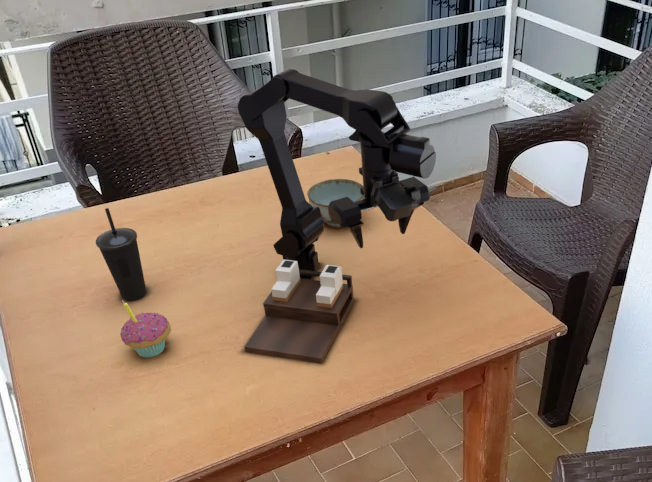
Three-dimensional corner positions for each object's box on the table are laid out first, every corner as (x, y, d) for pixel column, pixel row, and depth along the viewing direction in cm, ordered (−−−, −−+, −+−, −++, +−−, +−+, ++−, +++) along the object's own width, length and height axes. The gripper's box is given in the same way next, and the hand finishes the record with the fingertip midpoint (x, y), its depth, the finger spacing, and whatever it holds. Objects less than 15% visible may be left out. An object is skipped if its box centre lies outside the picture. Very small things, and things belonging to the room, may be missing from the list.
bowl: (298, 226, 163) (294, 196, 159) (333, 202, 172) (330, 173, 168) (345, 241, 157) (342, 211, 153) (378, 216, 167) (376, 186, 162)
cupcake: (131, 370, 123) (112, 317, 116) (124, 343, 130) (105, 291, 122) (179, 354, 127) (164, 302, 119) (170, 329, 133) (155, 278, 126)
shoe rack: (245, 351, 127) (239, 324, 123) (285, 292, 142) (280, 266, 138) (321, 363, 124) (318, 335, 120) (354, 301, 139) (351, 275, 135)
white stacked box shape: (329, 285, 136) (326, 264, 133) (343, 287, 136) (341, 265, 133) (316, 306, 131) (313, 284, 128) (331, 308, 130) (329, 286, 127)
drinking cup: (161, 288, 144) (136, 203, 132) (135, 308, 138) (106, 222, 126) (133, 280, 146) (106, 196, 135) (106, 299, 141) (76, 214, 129)
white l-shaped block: (286, 280, 138) (283, 258, 135) (300, 281, 137) (297, 260, 134) (272, 300, 133) (268, 278, 130) (287, 302, 132) (283, 280, 129)
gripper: (352, 197, 113) (358, 275, 122) (446, 169, 121) (445, 244, 130) (322, 172, 120) (330, 247, 130) (413, 147, 128) (414, 219, 138)
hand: (381, 240), depth 132 cm, fingers open, 9 cm apart
